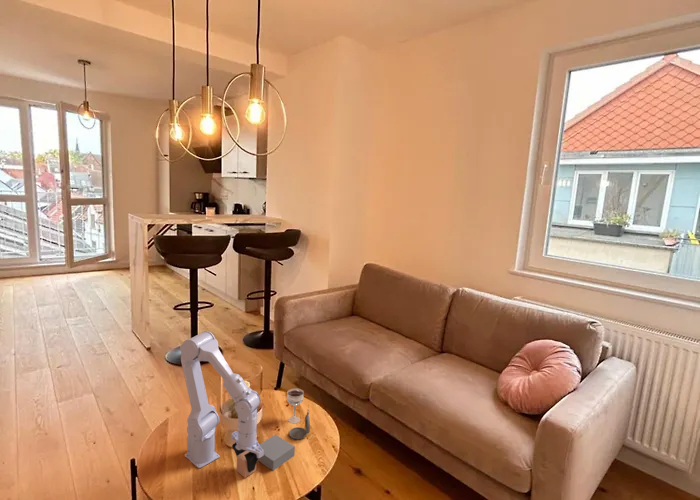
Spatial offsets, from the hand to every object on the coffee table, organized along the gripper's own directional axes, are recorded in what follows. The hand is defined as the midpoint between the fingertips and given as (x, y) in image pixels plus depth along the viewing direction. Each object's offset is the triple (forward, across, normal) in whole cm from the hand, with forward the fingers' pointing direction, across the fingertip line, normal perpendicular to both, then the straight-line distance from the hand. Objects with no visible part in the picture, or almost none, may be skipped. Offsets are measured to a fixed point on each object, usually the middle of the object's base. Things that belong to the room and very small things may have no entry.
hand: (246, 466), depth 130 cm
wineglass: (+2, -10, +31) cm, 33 cm away
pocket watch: (+2, -1, +26) cm, 26 cm away
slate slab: (+2, +1, +11) cm, 11 cm away
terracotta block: (+1, 0, 0) cm, 1 cm away
